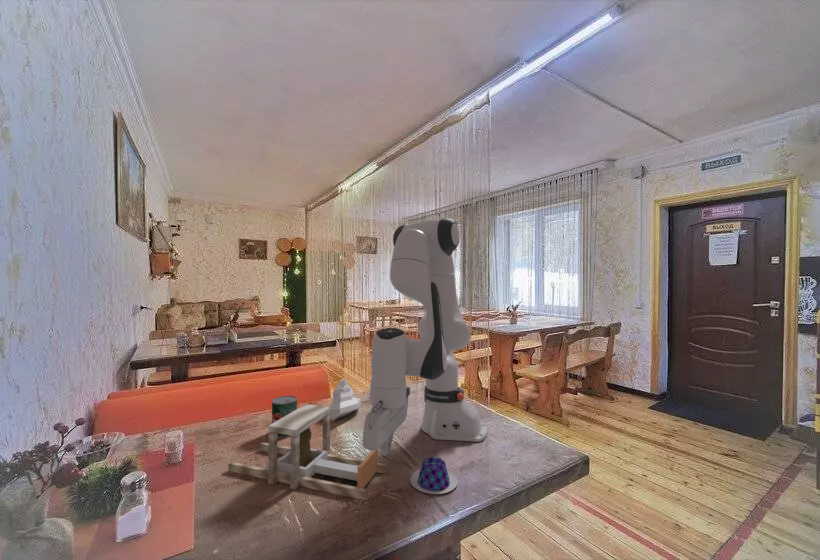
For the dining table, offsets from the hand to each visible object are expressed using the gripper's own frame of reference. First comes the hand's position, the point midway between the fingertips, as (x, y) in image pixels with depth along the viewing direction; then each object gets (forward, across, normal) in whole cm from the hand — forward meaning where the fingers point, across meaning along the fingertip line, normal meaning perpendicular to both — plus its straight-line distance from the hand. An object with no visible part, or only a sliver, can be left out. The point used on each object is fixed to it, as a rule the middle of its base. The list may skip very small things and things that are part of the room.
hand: (385, 452), depth 86 cm
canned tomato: (+10, +18, +43) cm, 48 cm away
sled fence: (+9, 0, +17) cm, 19 cm away
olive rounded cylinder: (+10, 0, +24) cm, 26 cm away
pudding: (+9, +7, -11) cm, 16 cm away
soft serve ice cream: (+9, +38, +33) cm, 51 cm away
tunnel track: (+9, 0, +22) cm, 24 cm away
